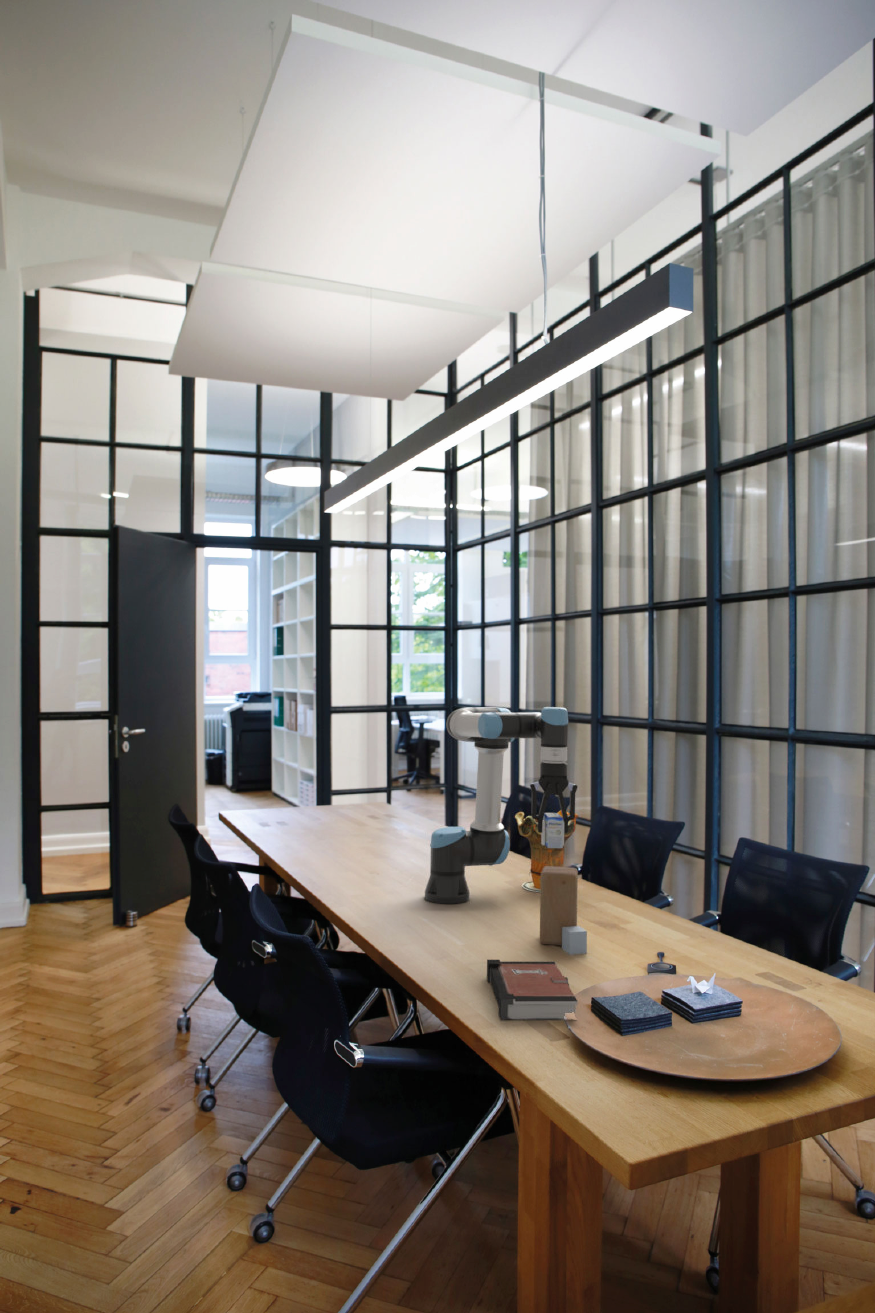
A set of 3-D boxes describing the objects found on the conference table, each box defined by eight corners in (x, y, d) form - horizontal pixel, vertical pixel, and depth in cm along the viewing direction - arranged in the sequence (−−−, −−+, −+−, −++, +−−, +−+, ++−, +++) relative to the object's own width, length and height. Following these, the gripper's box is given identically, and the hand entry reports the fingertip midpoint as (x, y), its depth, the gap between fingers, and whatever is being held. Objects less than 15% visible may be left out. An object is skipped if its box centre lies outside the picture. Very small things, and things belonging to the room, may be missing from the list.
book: (580, 1022, 183) (580, 999, 183) (500, 1022, 182) (500, 999, 182) (556, 980, 209) (557, 959, 210) (486, 980, 208) (487, 959, 209)
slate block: (569, 955, 228) (569, 932, 228) (562, 949, 233) (562, 927, 233) (586, 953, 229) (586, 931, 229) (578, 948, 234) (579, 926, 234)
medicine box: (542, 843, 243) (542, 812, 243) (557, 843, 243) (557, 812, 243) (547, 848, 235) (547, 817, 235) (563, 848, 235) (563, 817, 235)
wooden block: (575, 947, 234) (576, 874, 235) (539, 944, 236) (540, 872, 237) (576, 937, 244) (577, 867, 244) (542, 934, 246) (543, 865, 246)
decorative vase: (501, 882, 307) (506, 805, 309) (556, 881, 316) (560, 805, 318) (530, 896, 288) (535, 813, 290) (587, 894, 297) (591, 814, 299)
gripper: (523, 762, 236) (522, 846, 235) (587, 763, 236) (585, 847, 235) (521, 759, 244) (520, 841, 243) (583, 761, 243) (581, 842, 243)
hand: (552, 844), depth 239 cm, fingers closed on medicine box, 5 cm apart
